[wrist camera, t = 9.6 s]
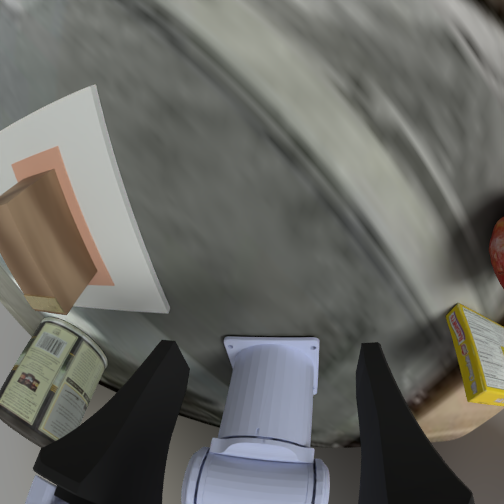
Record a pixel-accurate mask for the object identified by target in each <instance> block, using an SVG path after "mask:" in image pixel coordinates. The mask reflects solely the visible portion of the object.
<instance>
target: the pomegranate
mask: <svg viewBox="0 0 504 504" xmlns="http://www.w3.org/2000/svg"><path fill="white" fill-rule="evenodd" d="M489 253H490V259H491V264H492V266H493V269H494V272H495V274H496V276H497V278H498V280H499V282H500V284H501V286H502V287H503V289H504V217H502V218H501V219H499V220H498V221H497V223H496V224H495V227H494V229H493V232H492V237H491V239H490V244H489Z"/></svg>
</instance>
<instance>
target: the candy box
mask: <svg viewBox="0 0 504 504" xmlns="http://www.w3.org/2000/svg"><path fill="white" fill-rule="evenodd" d="M446 320H447V323H448V326H449V329H450V333H451V336H452V340H453V344H454V347H455V351H456V355H457V359H458V363H459V366H460V371H461V375H462V379H463V383H464V388H465V392H466V397H467V401H468V402H473V403H480V404H488V405H497V406H504V327H503V326H501V325H499V324H497V323H496V322H494V321H492V320H490V319H488V318H486V317H484V316H482V315H481V314H479V313H477V312H475V311H473V310H471V309H469V308H467V307H466V306H464V305H462V304H460V303H457V304H456V306H455V307H454V308H453V309H452V310H451V311H450V312H449V313H448V314H447V315H446Z"/></svg>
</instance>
